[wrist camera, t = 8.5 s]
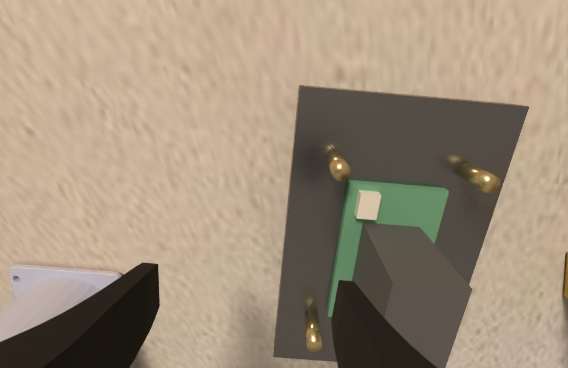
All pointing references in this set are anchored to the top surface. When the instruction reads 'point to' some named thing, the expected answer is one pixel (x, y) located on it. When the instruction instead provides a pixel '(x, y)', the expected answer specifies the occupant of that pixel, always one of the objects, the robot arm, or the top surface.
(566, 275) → the candy box
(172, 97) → the top surface
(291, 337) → the chassis plate
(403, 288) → the board
